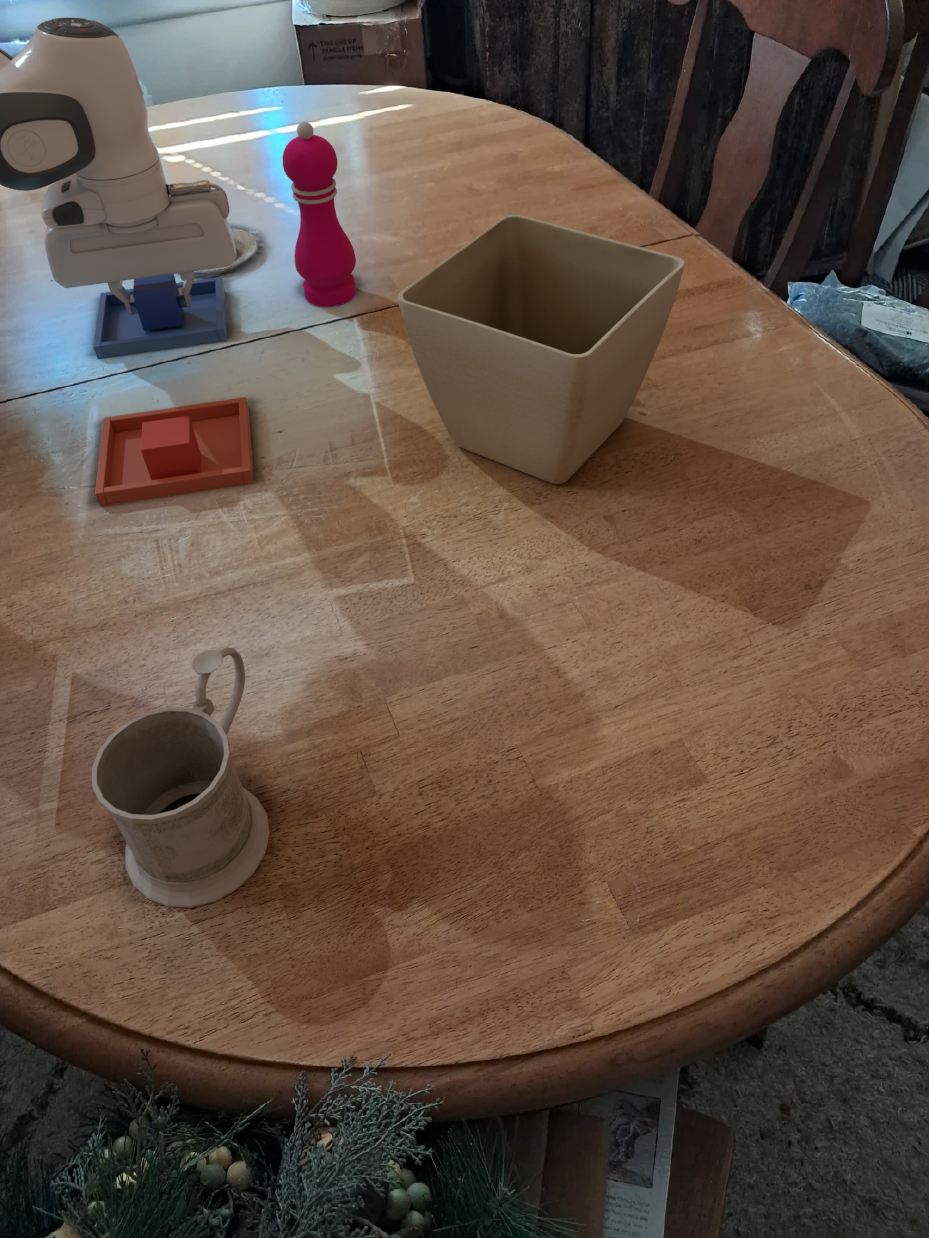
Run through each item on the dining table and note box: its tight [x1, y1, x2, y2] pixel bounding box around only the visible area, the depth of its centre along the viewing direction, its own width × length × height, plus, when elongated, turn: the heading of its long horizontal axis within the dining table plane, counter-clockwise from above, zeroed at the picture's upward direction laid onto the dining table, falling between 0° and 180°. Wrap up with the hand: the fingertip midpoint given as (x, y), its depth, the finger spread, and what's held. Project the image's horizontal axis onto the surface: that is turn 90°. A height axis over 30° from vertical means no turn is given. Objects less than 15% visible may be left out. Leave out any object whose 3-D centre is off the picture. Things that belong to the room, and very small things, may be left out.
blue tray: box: [92, 276, 228, 360], centre depth 117 cm, size 15×13×2 cm
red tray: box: [94, 396, 255, 507], centre depth 98 cm, size 15×13×2 cm
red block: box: [141, 416, 201, 480], centre depth 95 cm, size 4×4×4 cm
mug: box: [91, 646, 271, 909], centre depth 66 cm, size 14×10×12 cm
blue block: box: [132, 274, 183, 331], centre depth 115 cm, size 4×4×4 cm
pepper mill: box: [282, 121, 357, 308], centre depth 113 cm, size 7×7×20 cm
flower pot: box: [396, 213, 686, 485], centre depth 93 cm, size 19×19×17 cm
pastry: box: [194, 227, 259, 279], centre depth 127 cm, size 12×12×5 cm
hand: (160, 308), depth 116 cm, fingers closed on blue block, 4 cm apart
